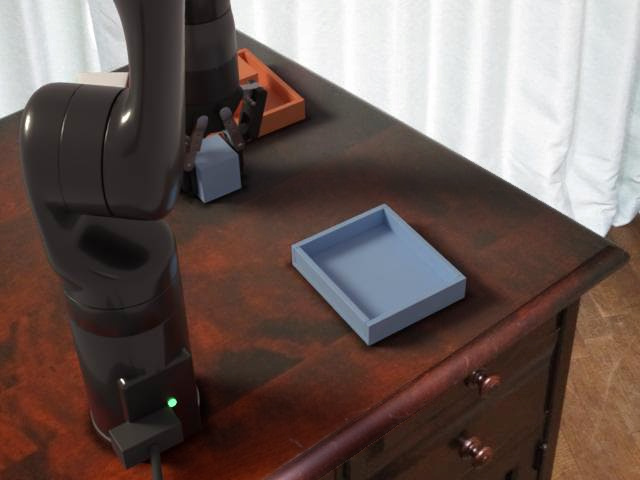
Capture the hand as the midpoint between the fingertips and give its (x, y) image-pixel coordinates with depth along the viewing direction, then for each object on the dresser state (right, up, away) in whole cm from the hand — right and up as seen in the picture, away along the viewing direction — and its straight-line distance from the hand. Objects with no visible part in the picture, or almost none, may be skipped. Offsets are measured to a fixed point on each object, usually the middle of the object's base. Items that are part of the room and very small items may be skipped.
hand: (212, 182), depth 123 cm
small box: (-11, +1, +2) cm, 11 cm away
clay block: (+2, +10, +10) cm, 14 cm away
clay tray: (+2, +9, +11) cm, 14 cm away
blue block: (0, 0, 0) cm, 0 cm away
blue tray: (+17, -10, -11) cm, 23 cm away
